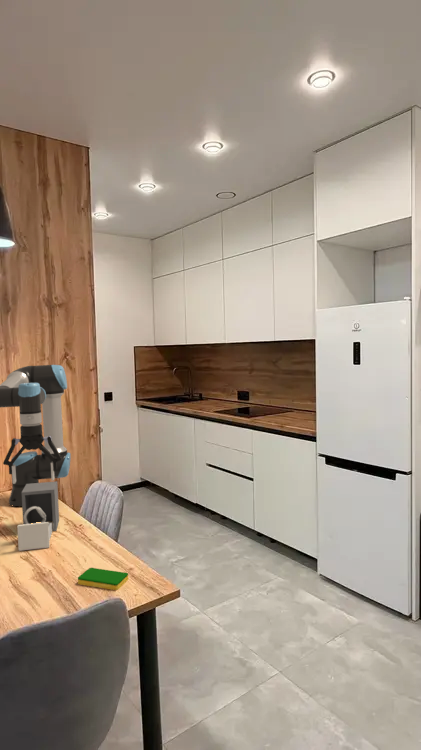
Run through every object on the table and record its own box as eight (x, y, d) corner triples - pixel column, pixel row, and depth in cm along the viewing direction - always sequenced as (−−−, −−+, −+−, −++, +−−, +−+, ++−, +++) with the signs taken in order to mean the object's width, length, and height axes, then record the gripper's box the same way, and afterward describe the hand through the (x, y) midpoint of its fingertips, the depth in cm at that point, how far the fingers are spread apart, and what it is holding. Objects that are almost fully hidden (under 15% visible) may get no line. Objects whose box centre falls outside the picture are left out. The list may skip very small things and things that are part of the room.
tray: (26, 533, 185) (24, 510, 185) (53, 530, 187) (52, 508, 187) (18, 550, 169) (17, 526, 169) (49, 547, 171) (47, 523, 171)
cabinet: (28, 523, 197) (26, 483, 196) (59, 520, 199) (57, 481, 198) (23, 534, 185) (21, 492, 184) (56, 530, 188) (54, 489, 187)
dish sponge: (90, 574, 151) (90, 567, 151) (128, 580, 147) (128, 572, 147) (77, 585, 145) (77, 577, 145) (117, 591, 140) (116, 583, 140)
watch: (49, 535, 180) (47, 506, 179) (27, 540, 175) (25, 511, 174) (44, 530, 184) (43, 503, 184) (23, 535, 180) (21, 507, 179)
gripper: (-8, 428, 169) (-5, 486, 170) (65, 423, 174) (67, 480, 175) (-3, 425, 176) (0, 481, 177) (66, 421, 182) (69, 475, 183)
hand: (33, 481), depth 176 cm, fingers open, 13 cm apart
